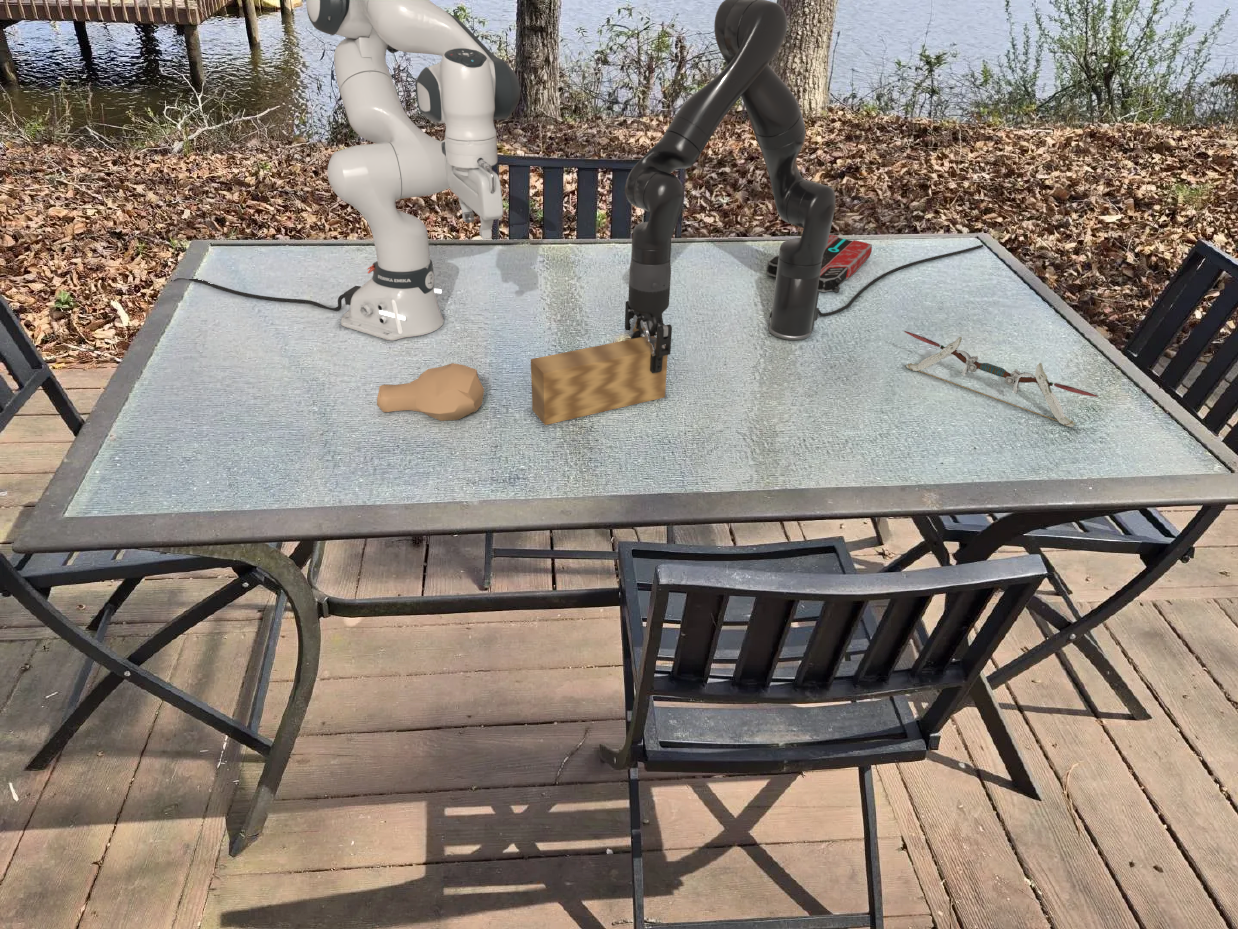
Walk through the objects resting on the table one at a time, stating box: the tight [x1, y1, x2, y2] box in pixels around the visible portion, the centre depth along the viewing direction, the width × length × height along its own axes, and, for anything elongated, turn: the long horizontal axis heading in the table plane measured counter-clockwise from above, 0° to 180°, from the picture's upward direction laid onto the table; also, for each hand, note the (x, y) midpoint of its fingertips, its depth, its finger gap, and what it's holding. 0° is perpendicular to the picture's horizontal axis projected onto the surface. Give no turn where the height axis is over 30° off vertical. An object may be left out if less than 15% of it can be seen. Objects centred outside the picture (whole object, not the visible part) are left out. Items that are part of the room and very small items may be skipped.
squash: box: [376, 362, 485, 422], centre depth 161 cm, size 11×20×9 cm, turn 90°
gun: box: [765, 233, 873, 293], centre depth 228 cm, size 4×31×19 cm
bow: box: [903, 330, 1099, 428], centre depth 171 cm, size 39×2×10 cm, turn 47°
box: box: [530, 335, 669, 426], centre depth 165 cm, size 25×6×11 cm, turn 117°
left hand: (477, 229), depth 161 cm, fingers open, 8 cm apart
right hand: (645, 362), depth 168 cm, fingers open, 7 cm apart
